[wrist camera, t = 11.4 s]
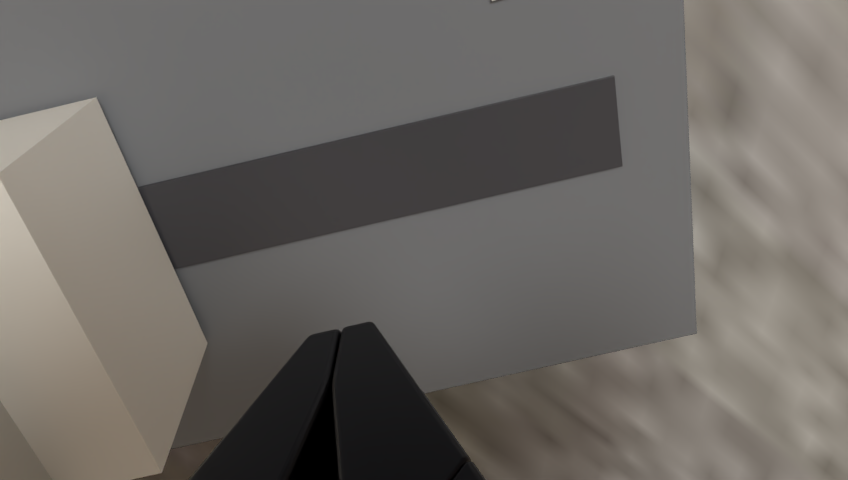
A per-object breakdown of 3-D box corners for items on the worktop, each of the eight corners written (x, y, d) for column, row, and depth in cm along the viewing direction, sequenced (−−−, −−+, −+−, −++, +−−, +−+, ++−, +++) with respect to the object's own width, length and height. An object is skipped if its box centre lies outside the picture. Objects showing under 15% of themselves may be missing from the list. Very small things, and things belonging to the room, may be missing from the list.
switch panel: (652, 273, 20) (698, 336, 17) (56, 406, 21) (9, 487, 18) (617, -210, 14) (676, -234, 12) (-196, -7, 15) (-323, 18, 12)
